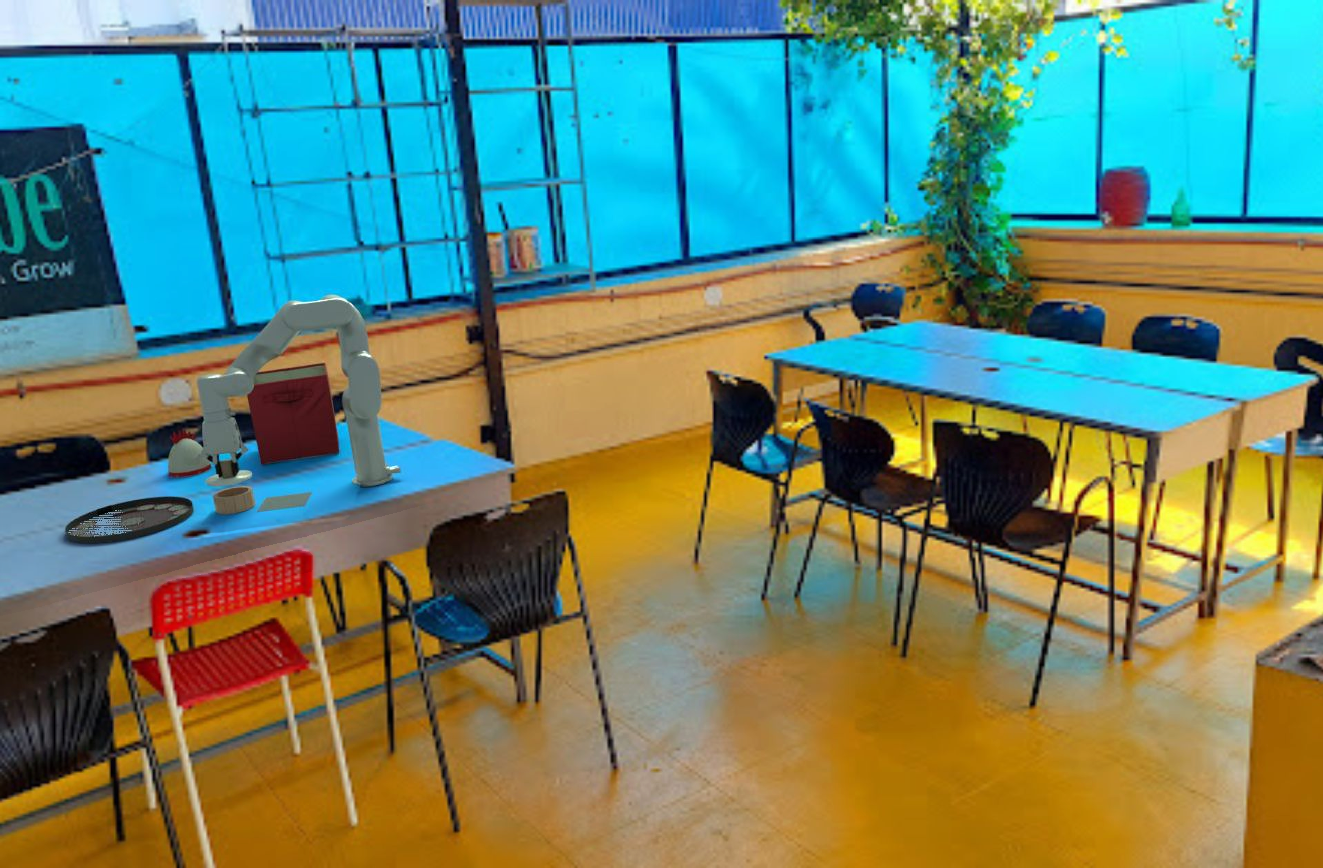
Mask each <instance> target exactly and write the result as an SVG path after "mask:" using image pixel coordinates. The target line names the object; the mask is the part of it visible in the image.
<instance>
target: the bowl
mask: <svg viewBox="0 0 1323 868" xmlns="http://www.w3.org/2000/svg"><path fill="white" fill-rule="evenodd" d="M212 499H213V503H214V509H215V513H217V514H219V515H231V514H237V513H238V514H239V513H241V512H244V511H248V510H251V509H253V508H254V507H255V506H256V499H255V494H254V490H253V488H252V487H251V486H247V485H242V486H241V485H240V486H232V487H228V488H224V489H221V490H219V491H217V492H215V493H214V494H213V495H212Z"/></svg>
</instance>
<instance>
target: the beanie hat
mask: <svg viewBox="0 0 1323 868" xmlns="http://www.w3.org/2000/svg"><path fill="white" fill-rule="evenodd" d="M182 433H183V434H182ZM195 437H196V433H195V432H194V433H193V434H192V436H191V431H190V430H189V431H188V432H187V431H186V429H183V430H182V431H181V430H178V434H177V433H176V432H175V431H173V437H172V436H169V439H171V441H172V442H173V443H174V445H173V446H172V448H171V449H170V452H169V455H168V459H167V461H168V462H167V471H168V475H169V477H171V478H185V477H192V476H196V475H200V474H203V473H206V472H208V471H209V470H212V462H210V461H209V460H208V459H205V458H203V457H201V456H200V454H201V452H202V450H203V446H202V445H201V444H199V442H198V441H196V440H195Z"/></svg>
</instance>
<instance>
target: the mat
mask: <svg viewBox="0 0 1323 868" xmlns="http://www.w3.org/2000/svg"><path fill="white" fill-rule="evenodd" d="M312 494H313V491H309V492H301V493H293V494H292V493H291V494H285V495H284V494H282V495H276V496H270V497H269V496H268V497H265V499H264V500H263V502H262V503H261V505H260V506H259V508H258V509H257V510H256V513H260V512H269V511H275V510H283V509H291V508H292V509H293V508H299V507H306V504H307V503H308V501H309V500H310V497H311V495H312Z"/></svg>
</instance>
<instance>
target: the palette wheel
mask: <svg viewBox="0 0 1323 868" xmlns="http://www.w3.org/2000/svg"><path fill="white" fill-rule="evenodd" d="M115 510H117V511H115ZM118 510H119V511H118ZM120 510H121V511H120ZM194 510H195V509H194V503H193V501H192V500H191V499H189V498H187V497H181V496H154V497H145V498H140V499H139V498H138V499H133V500H132V499H131V500H127V501H123V502H118V503H115V504H109V505H107V506H102V507H100V508H97V509H95V510H91V511H90V512H87V513H84V514H82V515H80V516H78V517H76V518H74V519H73V520H71V521H70V522H68V523H67V524H66V526H65V528H64V530H65V534H66V538H67V539H68V540H69V541H71V542H73V541H75V542H74V543H78V542H79V543H81V544H101V543H100V542H105V543H110V542H109V541H114V542H119V540H120V541H125V539H126V540H130V539H135V538H139V537H143V536H147V535H151V534H154V533H158V532H161V531H163V530H167V529H169V528H171V527H174V526H176V525H178V524H180V523H182V522H184V521H185V520H187V519H188V518H190V517H191V516H192V514H193V513H194ZM108 512H121V513H115V514H114V513H113V514H111V513H110V514H109V513H108ZM122 512H123V513H122ZM105 513H106V514H105ZM107 513H108V514H107ZM99 515H113V516H99ZM93 517H114V518H104V519H121V520H112V521H121V522H115V523H119V525H118V524H117V525H116V524H115V525H114V524H113V525H95V524H96V523H97V522H95V521H98V520H89V519H99V518H93ZM115 517H116V518H115ZM118 517H119V518H118ZM120 517H121V518H120ZM100 519H101V518H100ZM102 519H103V518H102ZM84 521H92V522H84ZM93 521H94V522H93ZM99 521H100V520H99ZM101 521H102V520H101ZM108 521H109V520H108ZM110 521H111V520H110ZM80 523H82V524H80ZM83 523H85V524H83ZM106 523H107V522H106ZM108 523H109V522H108ZM111 523H112V522H111ZM113 523H114V522H113ZM138 523H139V524H138ZM91 526H93V527H91ZM94 526H95V527H94ZM96 526H97V527H96ZM98 526H121V527H112V528H124V529H119V530H132V531H123V532H124V533H121V534H114V533H112V535H111V534H110V535H108V534H106V532H104V533H105V534H106V535H105V534H104V535H103V536H102V535H101V534H100V535H99V534H98V533H97V534H95V533H94V534H92V533H91V531H90V533H88V534H87V533H86V532H89V530H97V529H94V528H101V527H98ZM122 526H123V527H122ZM125 526H126V527H125ZM72 528H75V529H72ZM76 528H78V529H76ZM83 528H84V529H83ZM85 528H88V529H85ZM89 528H93V529H89ZM104 528H108V527H104ZM109 528H111V527H109ZM125 528H126V529H125ZM127 528H128V529H127ZM69 530H77V531H69ZM98 530H99V529H98ZM104 530H105V529H104ZM106 530H107V529H106ZM109 530H110V529H109ZM112 530H118V529H112ZM68 532H71V533H68ZM92 532H95V531H92ZM113 532H114V531H113ZM121 532H122V531H121ZM125 532H126V533H125ZM85 533H86V534H85ZM100 533H102V532H100ZM116 533H117V532H116ZM119 533H120V531H119ZM74 535H75V536H74ZM77 535H78V536H77ZM94 535H99V536H95V537H94ZM98 542H99V543H98Z"/></svg>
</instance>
